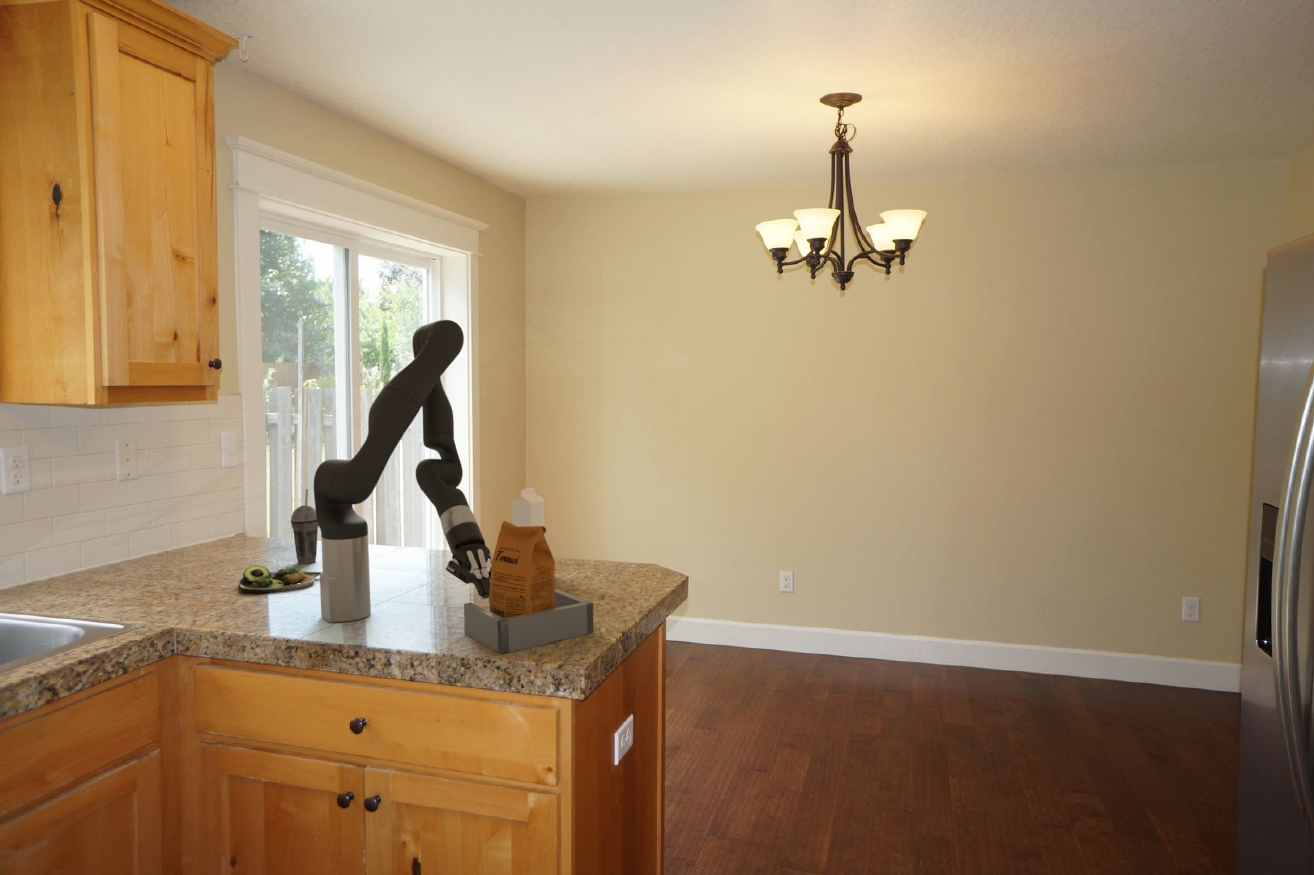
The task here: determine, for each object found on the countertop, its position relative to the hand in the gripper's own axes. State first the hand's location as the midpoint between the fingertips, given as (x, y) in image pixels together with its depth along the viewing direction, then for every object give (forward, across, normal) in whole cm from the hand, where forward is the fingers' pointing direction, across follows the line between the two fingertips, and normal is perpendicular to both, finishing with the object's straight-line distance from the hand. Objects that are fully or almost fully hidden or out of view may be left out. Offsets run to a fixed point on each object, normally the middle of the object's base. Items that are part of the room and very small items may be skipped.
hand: (487, 596), depth 181 cm
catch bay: (+14, 0, -9) cm, 17 cm away
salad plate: (-36, -29, +43) cm, 63 cm away
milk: (-15, +24, +21) cm, 35 cm away
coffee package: (+15, -1, -9) cm, 18 cm away
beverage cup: (-51, -16, +57) cm, 78 cm away
